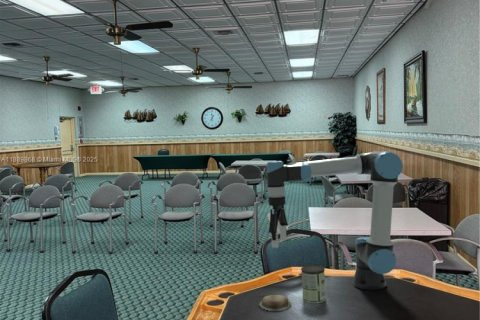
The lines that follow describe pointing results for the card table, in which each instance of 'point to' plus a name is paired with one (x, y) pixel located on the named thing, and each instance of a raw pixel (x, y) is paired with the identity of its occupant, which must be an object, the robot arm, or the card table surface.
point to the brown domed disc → (275, 303)
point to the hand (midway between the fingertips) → (279, 243)
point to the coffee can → (313, 283)
